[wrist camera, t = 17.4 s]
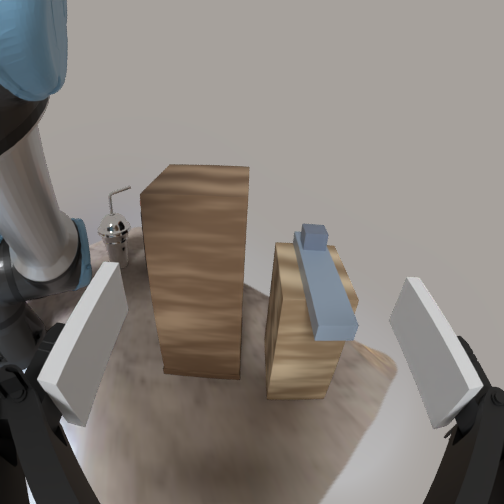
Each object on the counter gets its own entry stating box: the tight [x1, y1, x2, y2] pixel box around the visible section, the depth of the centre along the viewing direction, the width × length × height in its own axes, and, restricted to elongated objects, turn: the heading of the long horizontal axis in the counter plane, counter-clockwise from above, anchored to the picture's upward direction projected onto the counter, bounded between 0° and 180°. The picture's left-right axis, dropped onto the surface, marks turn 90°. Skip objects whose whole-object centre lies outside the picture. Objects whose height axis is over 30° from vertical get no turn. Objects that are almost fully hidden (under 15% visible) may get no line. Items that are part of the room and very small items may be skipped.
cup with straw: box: [98, 186, 131, 269], centre depth 70 cm, size 8×9×20 cm
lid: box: [293, 224, 358, 341], centre depth 37 cm, size 20×4×4 cm, turn 0°
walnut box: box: [140, 164, 249, 380], centre depth 46 cm, size 14×12×30 cm
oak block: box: [265, 242, 359, 400], centre depth 46 cm, size 14×9×20 cm, turn 0°
